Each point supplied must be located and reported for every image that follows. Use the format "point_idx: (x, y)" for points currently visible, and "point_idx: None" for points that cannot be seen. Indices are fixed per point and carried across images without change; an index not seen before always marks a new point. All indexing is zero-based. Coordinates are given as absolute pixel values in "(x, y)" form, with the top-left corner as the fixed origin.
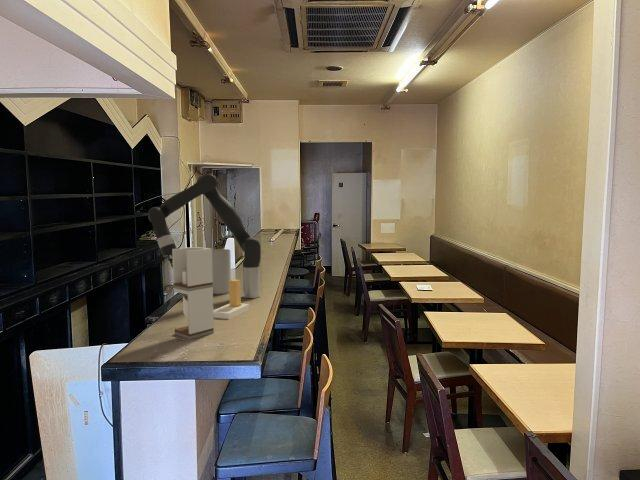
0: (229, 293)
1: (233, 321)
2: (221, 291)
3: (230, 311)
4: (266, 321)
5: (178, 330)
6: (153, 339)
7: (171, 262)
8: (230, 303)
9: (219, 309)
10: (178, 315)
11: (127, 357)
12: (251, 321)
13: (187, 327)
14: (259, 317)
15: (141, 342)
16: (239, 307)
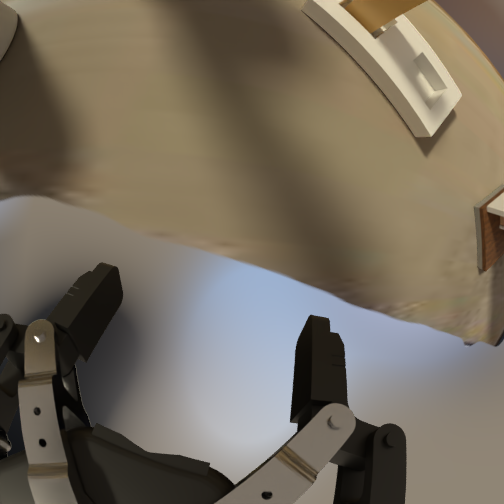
0: (406, 11)
1: None
2: (9, 31)
3: (444, 75)
4: (468, 37)
5: (493, 263)
6: (475, 307)
7: (339, 500)
8: (381, 25)
9: (413, 89)
10: (329, 238)
11: (497, 331)
12: (465, 60)
13: (490, 241)
14: (439, 21)
15: (473, 325)
16: (403, 21)
